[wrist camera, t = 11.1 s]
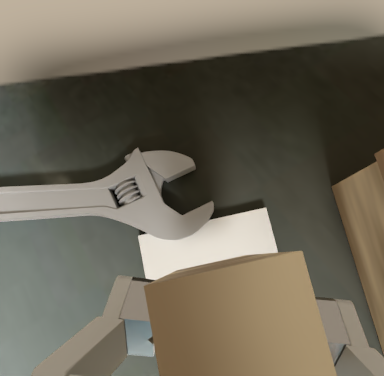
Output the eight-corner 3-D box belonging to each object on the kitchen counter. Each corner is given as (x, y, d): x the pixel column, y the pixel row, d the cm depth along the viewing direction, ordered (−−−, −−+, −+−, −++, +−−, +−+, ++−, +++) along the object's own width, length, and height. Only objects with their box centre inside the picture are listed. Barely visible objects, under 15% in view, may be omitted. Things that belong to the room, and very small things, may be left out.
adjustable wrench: (-128, 232, 25) (-153, 230, 24) (-110, 150, 27) (-132, 142, 25) (209, 242, 24) (209, 240, 22) (211, 155, 25) (211, 147, 24)
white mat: (264, 208, 24) (266, 207, 23) (299, 342, 22) (302, 344, 22) (139, 236, 24) (138, 235, 23) (164, 372, 22) (163, 376, 21)
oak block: (245, 255, 17) (302, 250, 8) (263, 328, 17) (352, 429, 7) (176, 270, 17) (143, 285, 7) (191, 344, 17) (176, 469, 7)
